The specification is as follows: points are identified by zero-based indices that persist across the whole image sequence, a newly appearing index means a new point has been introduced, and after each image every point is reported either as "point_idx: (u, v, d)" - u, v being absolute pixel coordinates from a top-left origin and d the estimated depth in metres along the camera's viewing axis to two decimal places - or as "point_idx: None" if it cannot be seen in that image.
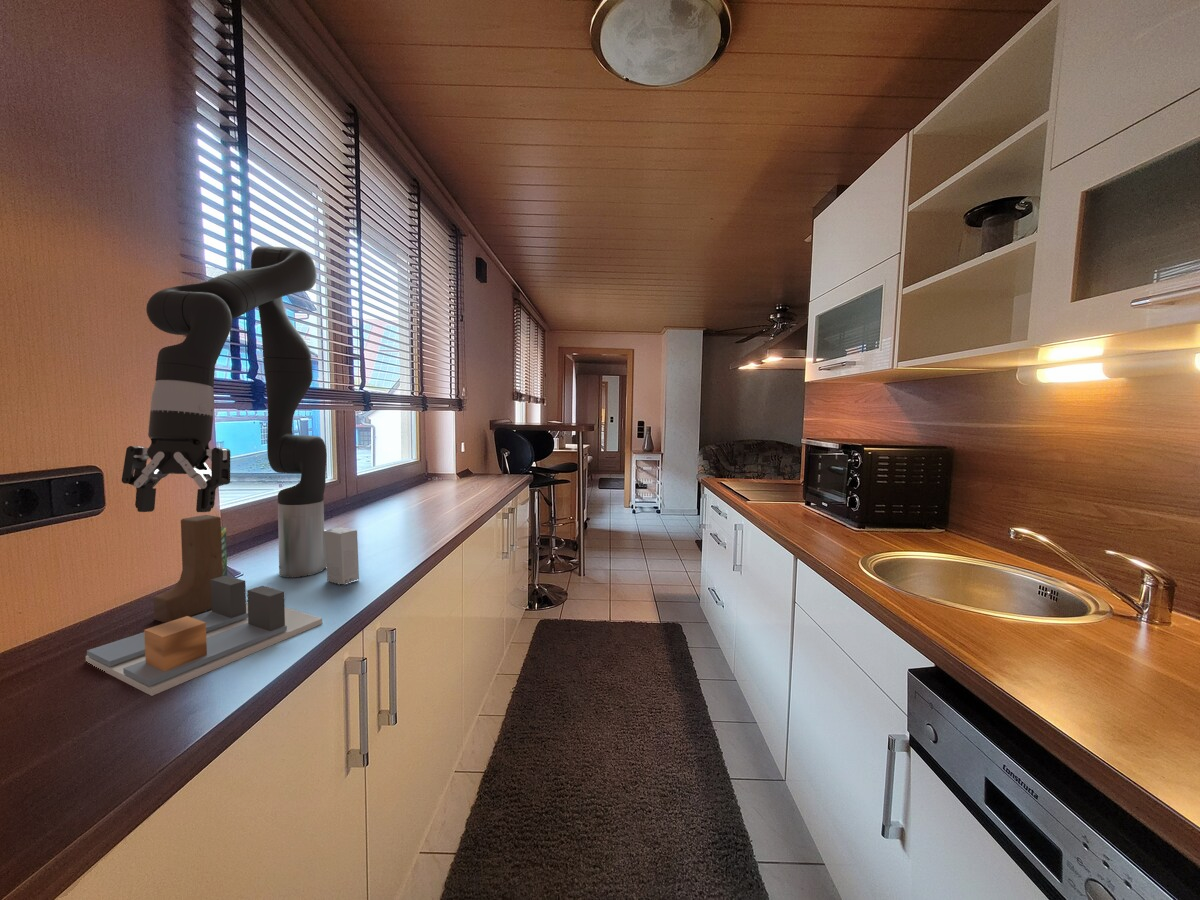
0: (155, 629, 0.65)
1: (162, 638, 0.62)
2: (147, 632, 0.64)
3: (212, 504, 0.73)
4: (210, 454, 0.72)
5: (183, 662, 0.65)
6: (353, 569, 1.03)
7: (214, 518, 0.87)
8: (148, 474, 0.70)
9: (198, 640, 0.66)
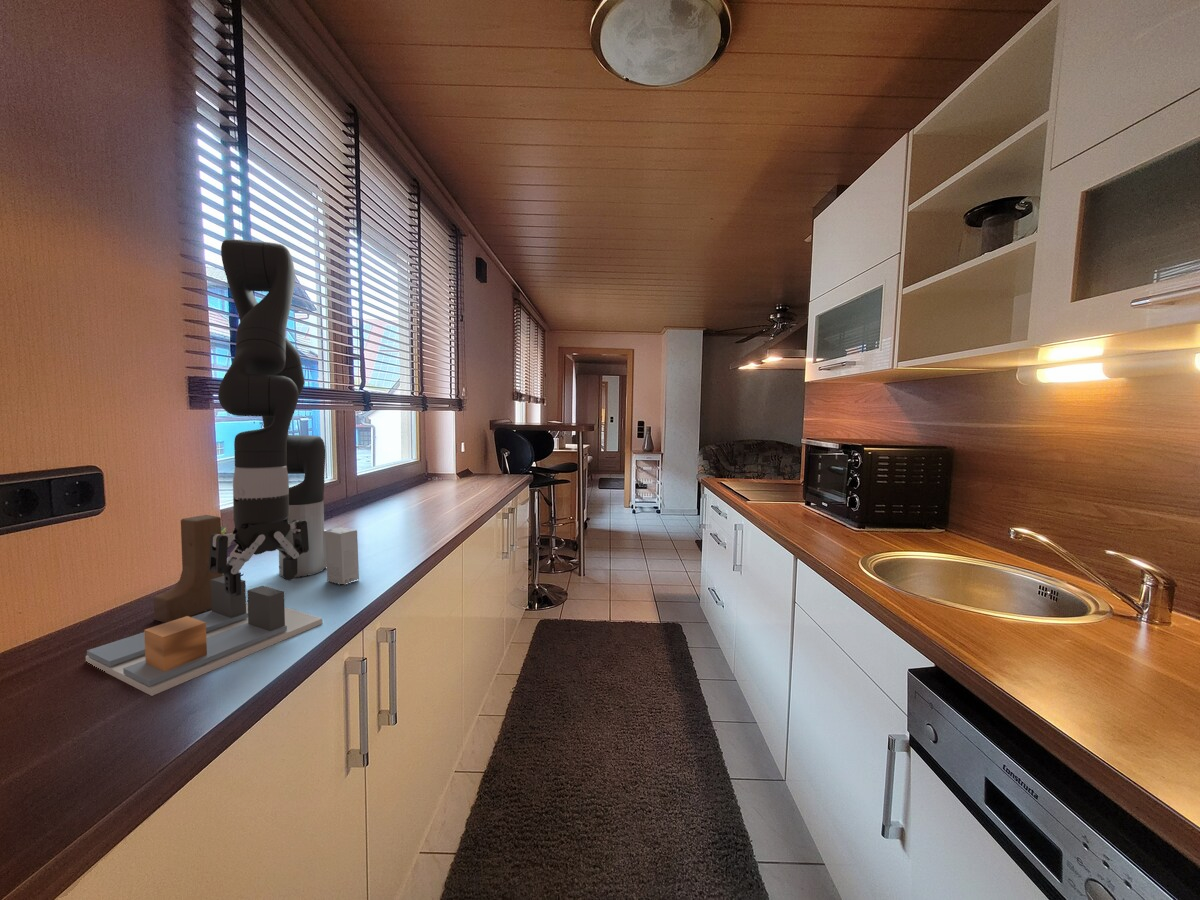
0: (155, 629, 0.65)
1: (162, 638, 0.62)
2: (147, 632, 0.64)
3: None
4: (294, 527, 0.80)
5: (183, 662, 0.65)
6: (353, 569, 1.03)
7: (214, 518, 0.87)
8: (249, 558, 0.73)
9: (198, 640, 0.66)
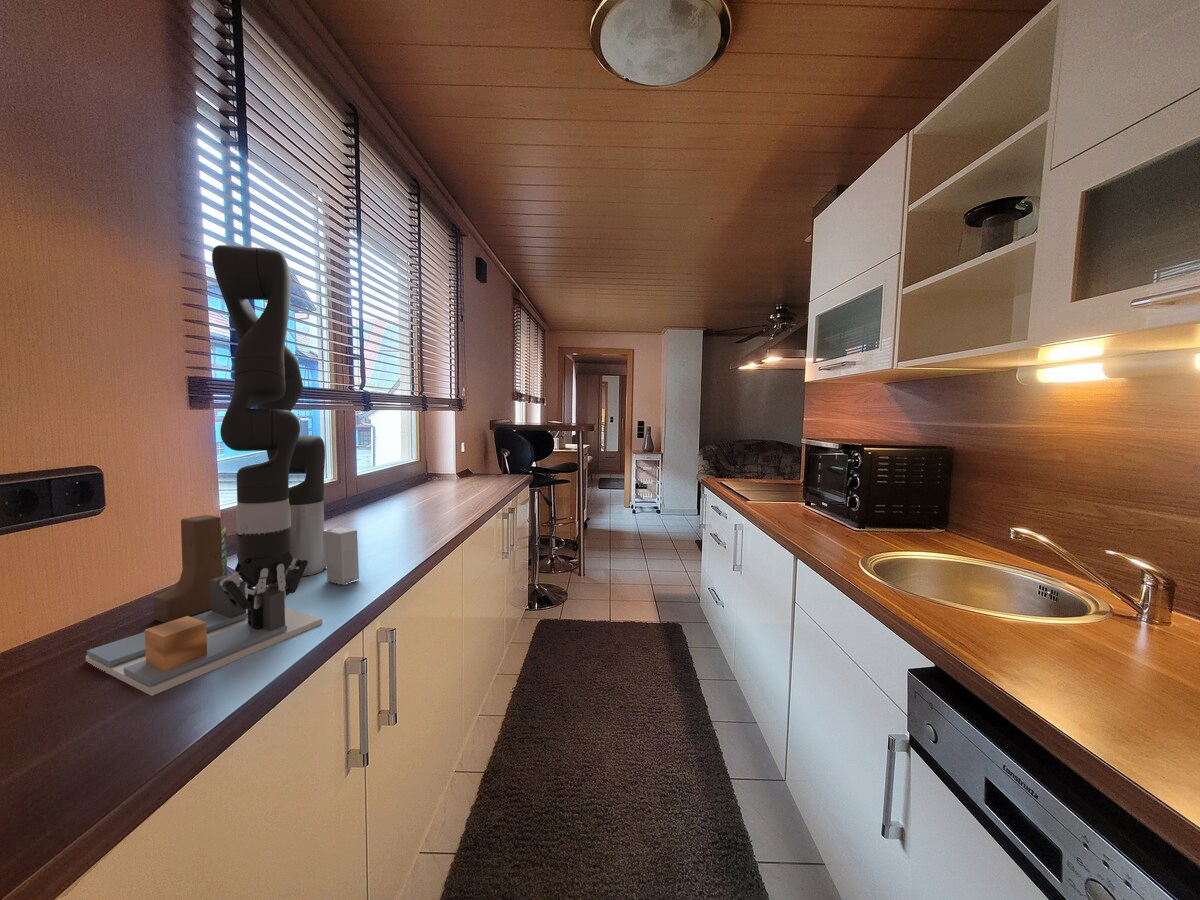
0: (155, 629, 0.65)
1: (162, 637, 0.63)
2: (148, 632, 0.64)
3: None
4: (294, 563, 0.81)
5: (183, 662, 0.65)
6: (353, 569, 1.03)
7: (214, 518, 0.87)
8: (264, 591, 0.75)
9: (198, 640, 0.66)
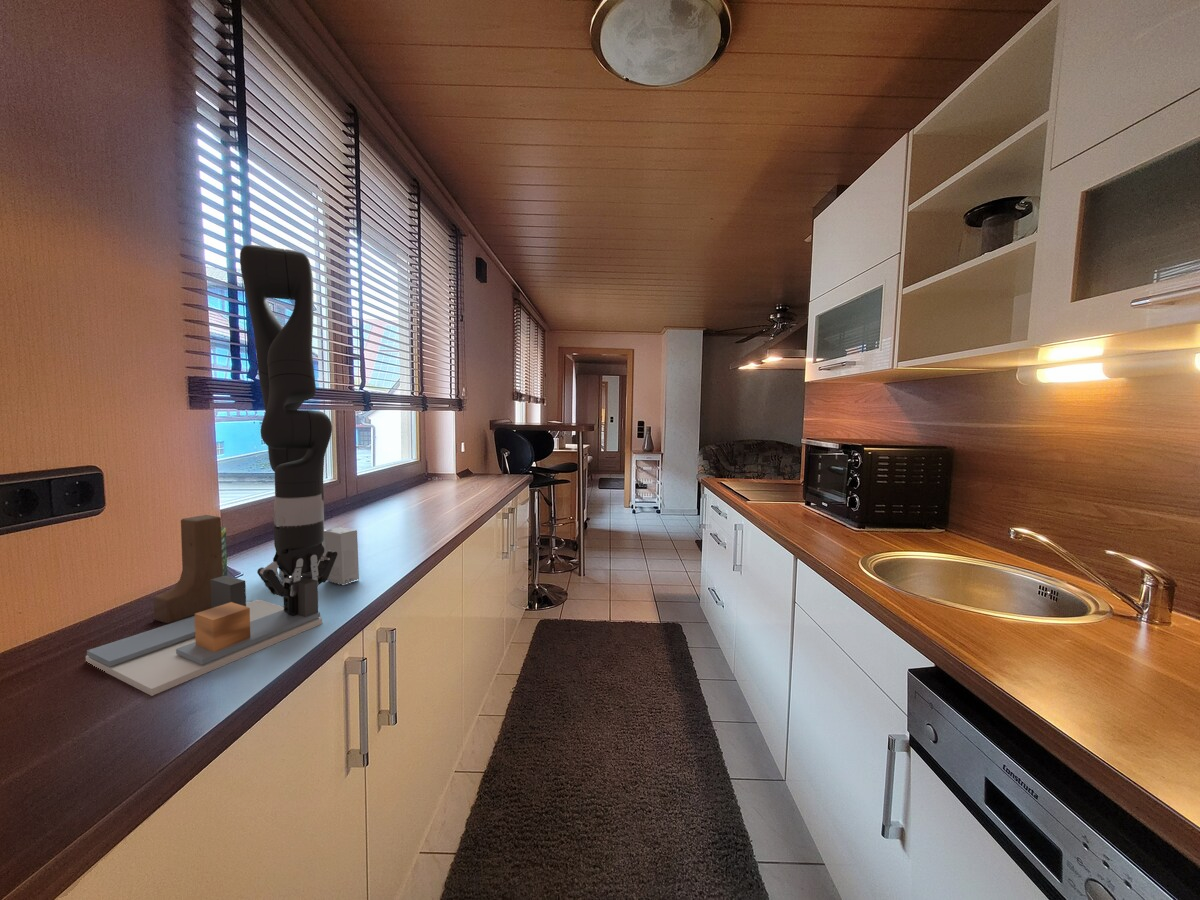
0: (204, 613, 0.70)
1: (212, 621, 0.68)
2: (198, 615, 0.69)
3: None
4: (325, 554, 0.86)
5: (230, 644, 0.70)
6: (353, 569, 1.03)
7: (214, 518, 0.87)
8: (299, 580, 0.81)
9: (243, 624, 0.72)
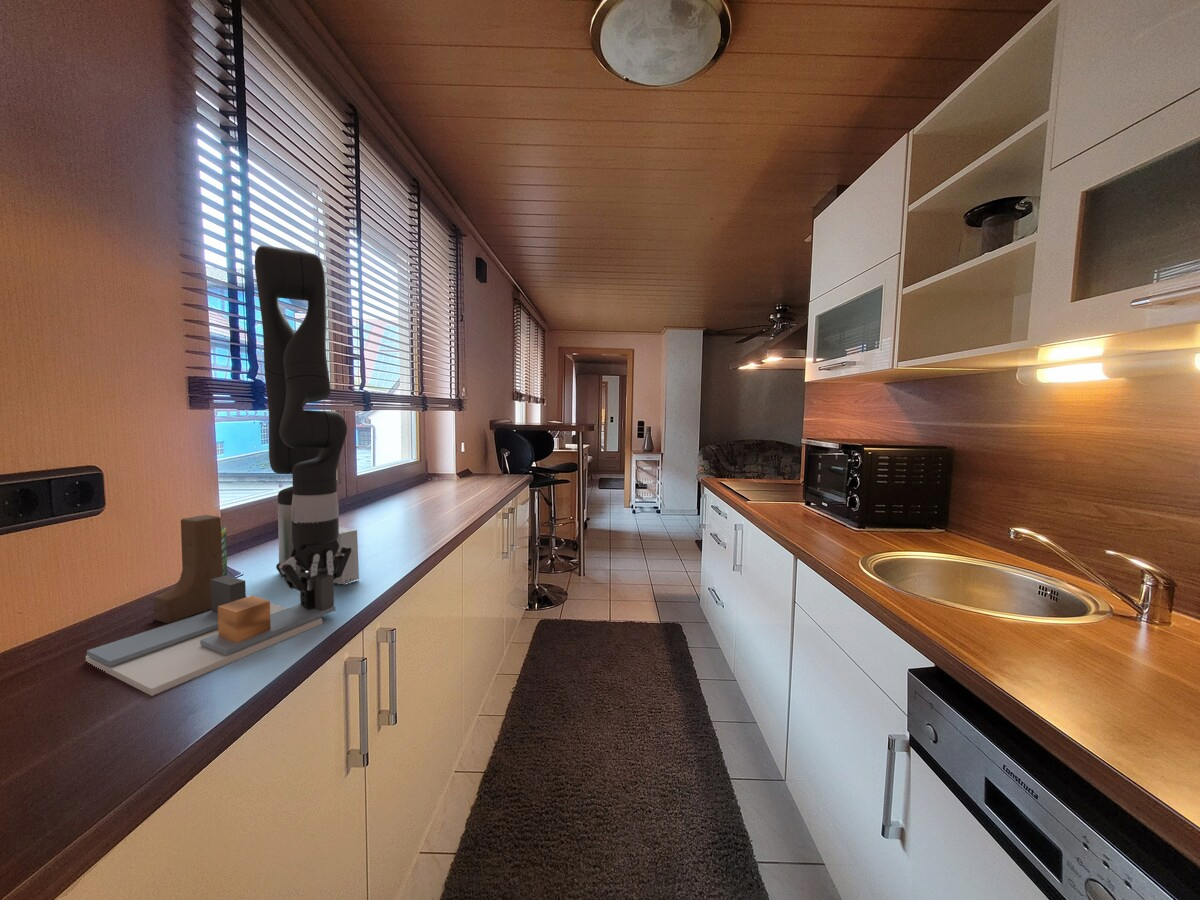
0: (227, 606, 0.73)
1: (235, 613, 0.71)
2: (221, 608, 0.72)
3: None
4: (340, 550, 0.89)
5: (252, 635, 0.73)
6: (353, 569, 1.03)
7: (214, 518, 0.87)
8: (316, 575, 0.83)
9: (264, 616, 0.75)
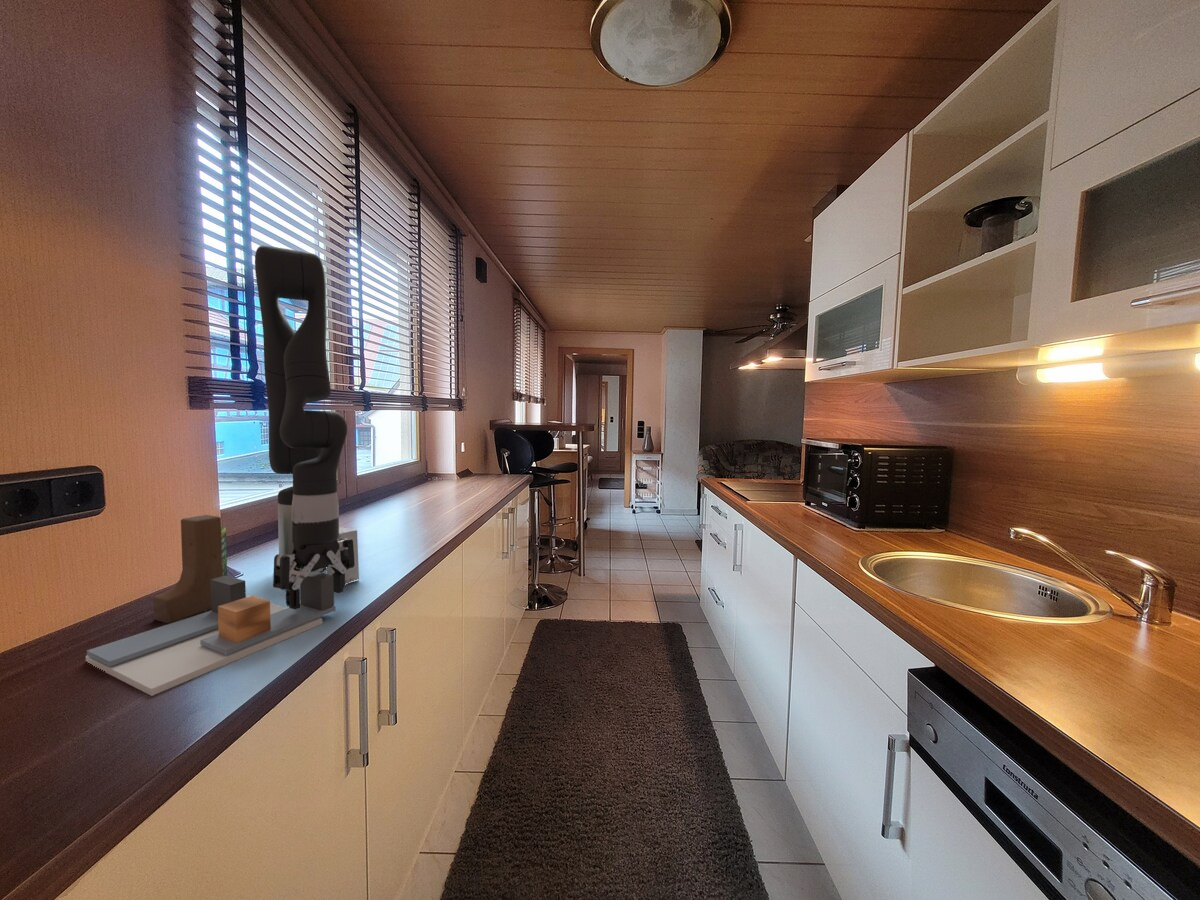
0: (227, 606, 0.73)
1: (235, 613, 0.71)
2: (221, 608, 0.72)
3: None
4: (342, 545, 0.89)
5: (252, 635, 0.73)
6: (353, 569, 1.03)
7: (214, 518, 0.87)
8: (307, 575, 0.82)
9: (264, 616, 0.75)
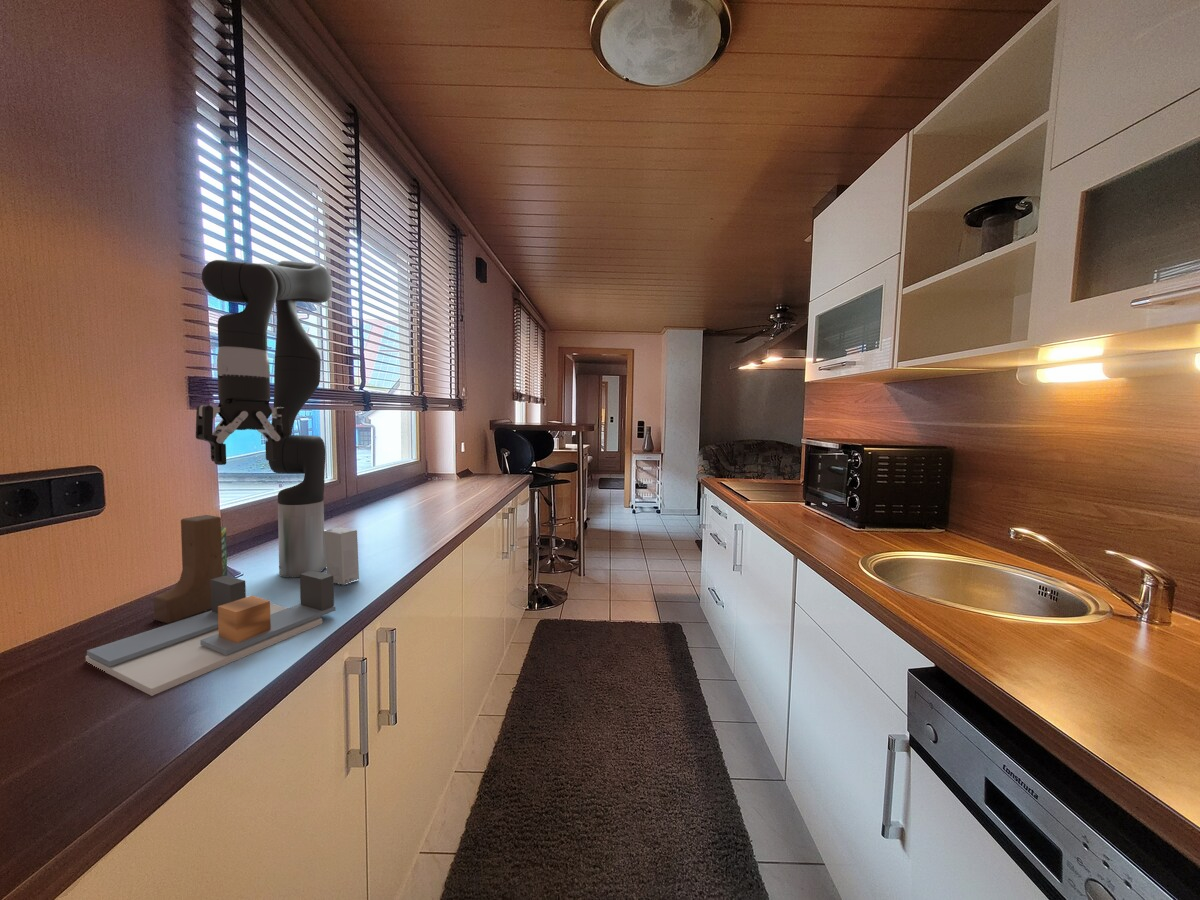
0: (227, 606, 0.73)
1: (235, 613, 0.71)
2: (221, 608, 0.72)
3: None
4: (275, 412, 0.87)
5: (252, 635, 0.73)
6: (353, 569, 1.03)
7: (214, 518, 0.87)
8: (233, 431, 0.79)
9: (264, 616, 0.75)
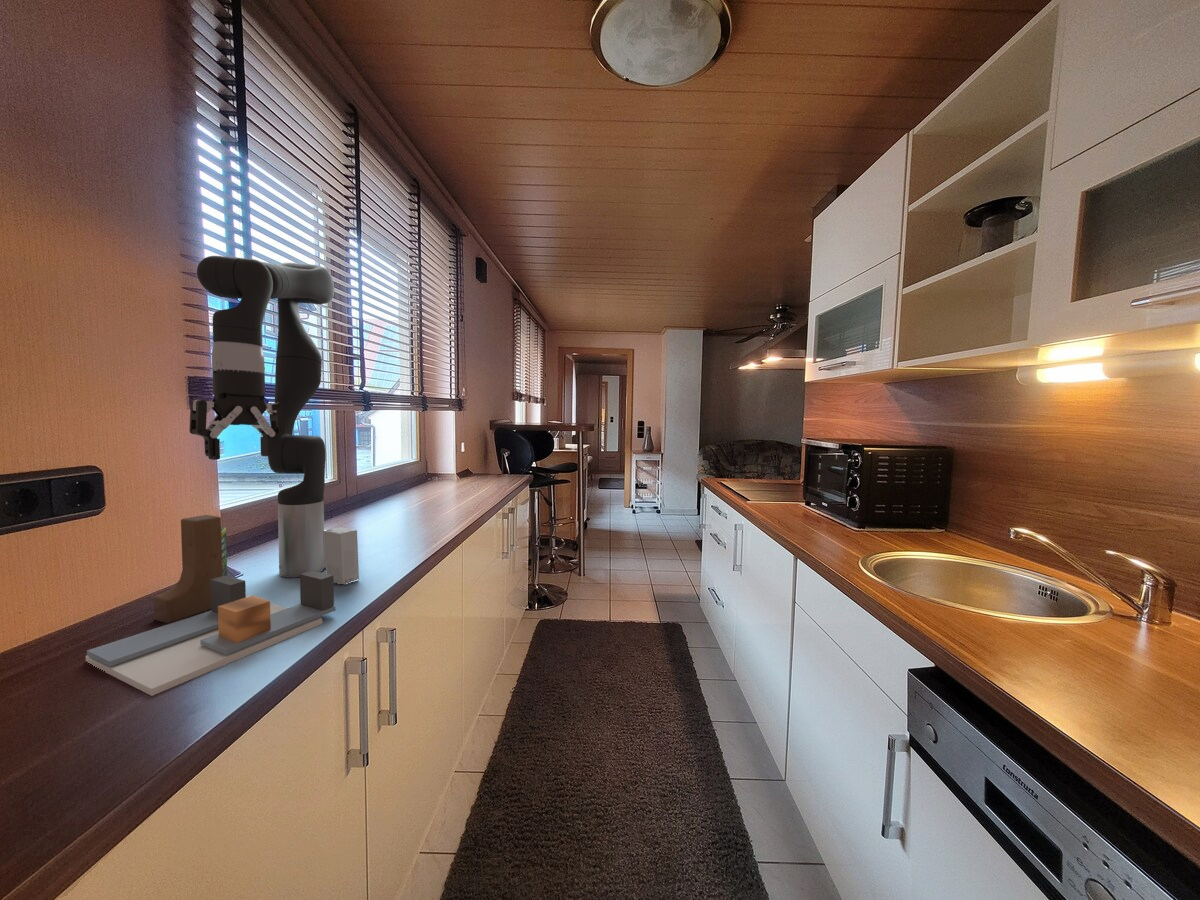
0: (227, 606, 0.73)
1: (235, 613, 0.71)
2: (221, 608, 0.72)
3: None
4: (270, 408, 0.87)
5: (252, 635, 0.73)
6: (353, 569, 1.03)
7: (214, 518, 0.87)
8: (227, 426, 0.79)
9: (264, 616, 0.75)
